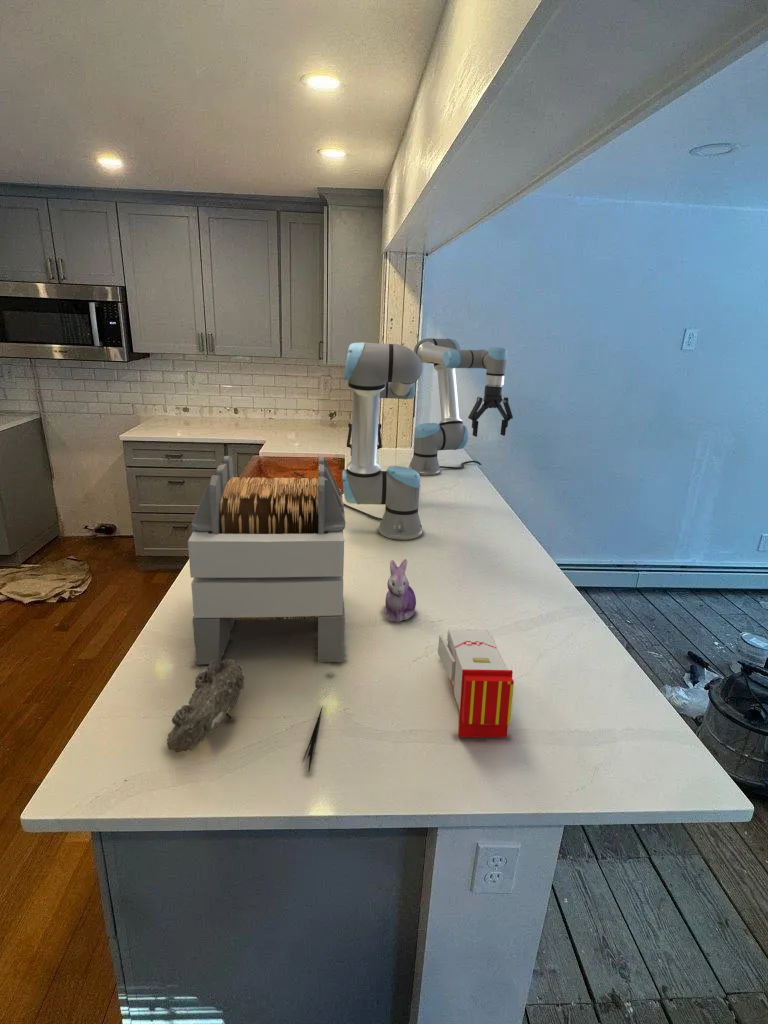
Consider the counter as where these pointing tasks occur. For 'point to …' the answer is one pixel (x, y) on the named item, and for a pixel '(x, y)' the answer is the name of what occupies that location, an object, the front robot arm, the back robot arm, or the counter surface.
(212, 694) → the fossil
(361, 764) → the counter surface
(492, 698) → the toy
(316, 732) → the feather
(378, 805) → the counter surface
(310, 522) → the rotary card file
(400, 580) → the figurine
